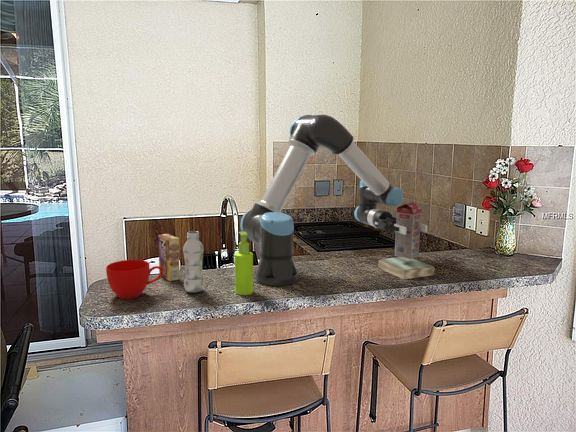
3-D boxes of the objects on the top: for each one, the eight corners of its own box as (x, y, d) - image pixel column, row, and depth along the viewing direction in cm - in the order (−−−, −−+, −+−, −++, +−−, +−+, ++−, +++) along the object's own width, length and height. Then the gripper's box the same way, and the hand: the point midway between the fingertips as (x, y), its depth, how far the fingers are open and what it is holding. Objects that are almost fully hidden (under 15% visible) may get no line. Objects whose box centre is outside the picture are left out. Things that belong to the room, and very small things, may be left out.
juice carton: (394, 255, 175) (397, 198, 171) (402, 252, 180) (405, 197, 176) (410, 259, 171) (414, 200, 167) (418, 255, 176) (422, 198, 172)
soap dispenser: (249, 287, 156) (249, 229, 152) (254, 294, 149) (254, 234, 146) (232, 289, 154) (232, 230, 150) (237, 296, 148) (236, 235, 144)
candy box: (181, 279, 163) (179, 237, 161) (169, 281, 161) (168, 239, 158) (170, 273, 170) (168, 233, 167) (158, 275, 167) (157, 234, 165)
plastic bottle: (206, 294, 149) (204, 233, 145) (184, 295, 147) (183, 234, 144) (203, 287, 155) (202, 229, 152) (183, 289, 153) (181, 230, 150)
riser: (403, 279, 167) (404, 270, 166) (378, 267, 181) (378, 259, 180) (434, 275, 172) (434, 266, 172) (407, 263, 187) (407, 255, 186)
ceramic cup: (164, 298, 144) (163, 268, 143) (107, 304, 139) (105, 273, 137) (161, 285, 156) (160, 257, 155) (108, 290, 151) (106, 261, 149)
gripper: (401, 226, 195) (438, 237, 174) (357, 230, 186) (391, 242, 166) (402, 208, 193) (439, 218, 173) (358, 211, 185) (392, 222, 165)
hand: (416, 229), depth 170 cm, fingers closed on juice carton, 9 cm apart
